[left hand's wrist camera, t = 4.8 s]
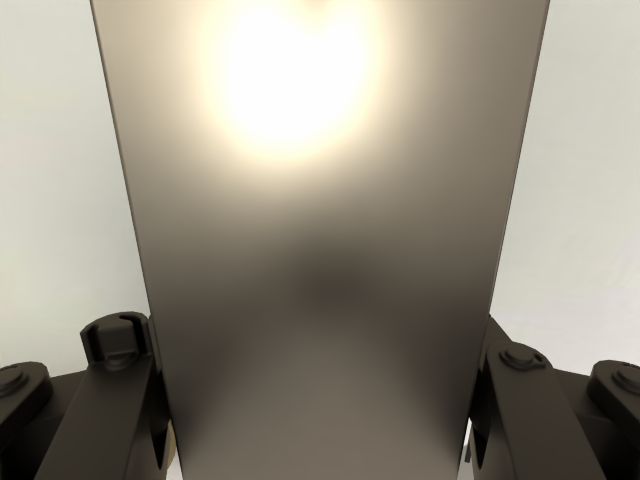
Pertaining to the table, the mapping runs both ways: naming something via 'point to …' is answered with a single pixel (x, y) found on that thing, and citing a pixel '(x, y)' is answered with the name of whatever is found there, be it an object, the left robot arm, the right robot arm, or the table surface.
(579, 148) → the table surface
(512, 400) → the left robot arm
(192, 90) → the bar
